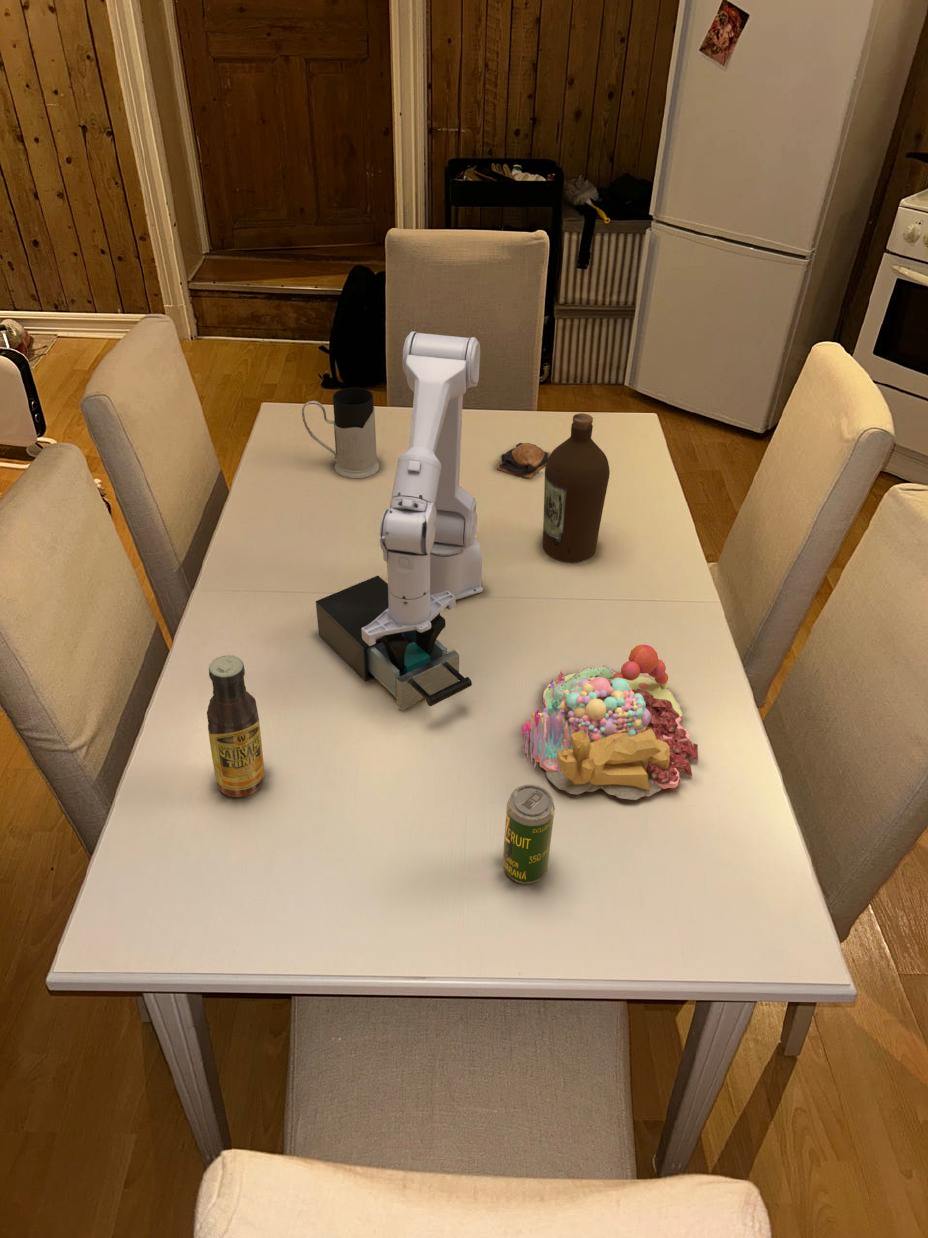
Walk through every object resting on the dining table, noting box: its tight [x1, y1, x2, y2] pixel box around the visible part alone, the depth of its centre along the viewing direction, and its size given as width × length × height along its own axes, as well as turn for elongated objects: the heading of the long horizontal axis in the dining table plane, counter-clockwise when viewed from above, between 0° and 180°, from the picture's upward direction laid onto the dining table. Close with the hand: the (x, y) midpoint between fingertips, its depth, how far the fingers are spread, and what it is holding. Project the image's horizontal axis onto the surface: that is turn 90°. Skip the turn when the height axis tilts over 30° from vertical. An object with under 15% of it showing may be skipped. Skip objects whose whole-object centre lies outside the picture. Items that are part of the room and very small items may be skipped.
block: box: [399, 642, 430, 676], centre depth 138 cm, size 4×4×3 cm
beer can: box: [502, 784, 556, 885], centre depth 111 cm, size 5×5×12 cm
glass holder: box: [301, 387, 380, 479], centre depth 183 cm, size 9×14×15 cm, turn 89°
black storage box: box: [315, 575, 403, 683], centre depth 144 cm, size 13×11×7 cm
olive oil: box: [542, 412, 611, 563], centre depth 160 cm, size 11×11×25 cm
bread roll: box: [496, 442, 552, 480], centre depth 189 cm, size 11×8×4 cm
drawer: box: [367, 630, 473, 710], centre depth 137 cm, size 17×10×5 cm, turn 38°
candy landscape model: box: [521, 644, 699, 801], centre depth 129 cm, size 25×24×9 cm
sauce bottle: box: [206, 654, 265, 798], centre depth 118 cm, size 7×6×20 cm
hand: (410, 662), depth 138 cm, fingers closed on block, 4 cm apart
